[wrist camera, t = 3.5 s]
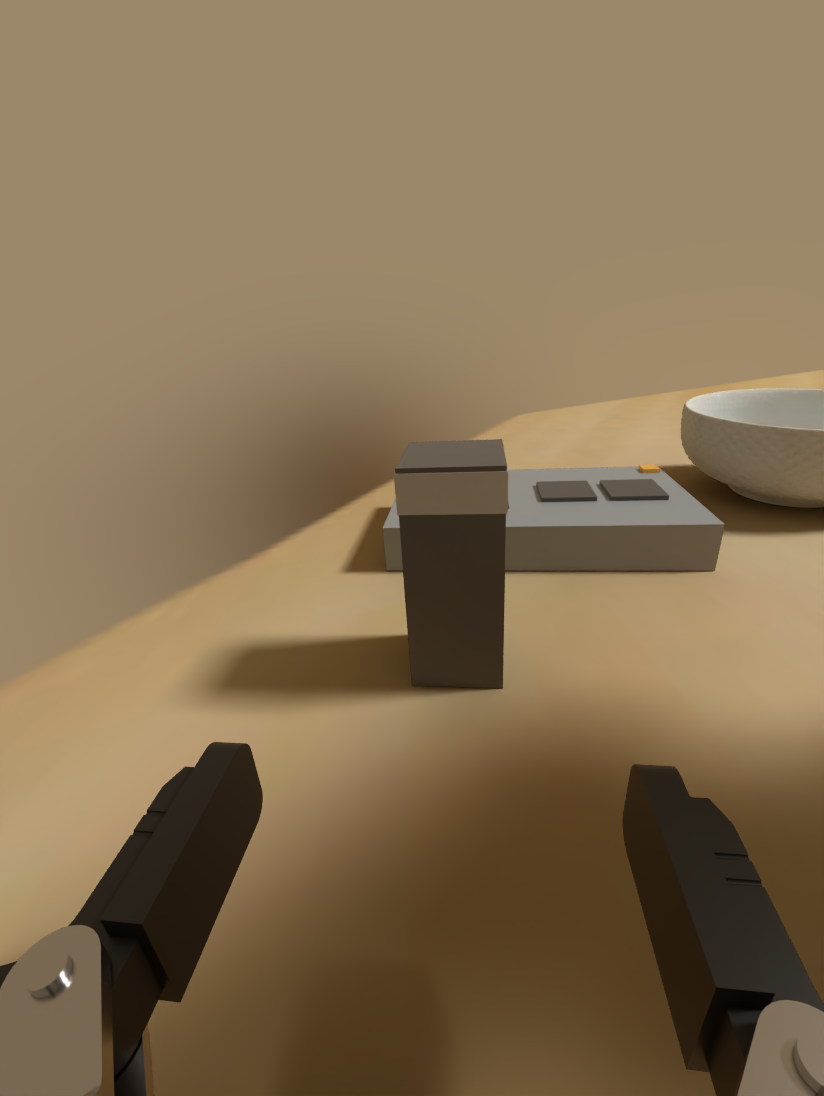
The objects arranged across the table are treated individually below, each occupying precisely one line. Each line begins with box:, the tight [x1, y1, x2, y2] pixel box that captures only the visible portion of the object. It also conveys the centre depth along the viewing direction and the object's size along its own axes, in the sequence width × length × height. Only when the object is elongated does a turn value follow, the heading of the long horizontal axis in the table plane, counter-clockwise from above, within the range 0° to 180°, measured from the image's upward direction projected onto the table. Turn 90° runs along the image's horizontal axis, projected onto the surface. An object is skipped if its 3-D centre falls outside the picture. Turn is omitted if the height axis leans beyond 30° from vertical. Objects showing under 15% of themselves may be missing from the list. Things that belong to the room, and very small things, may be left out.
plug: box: [394, 439, 508, 688], centre depth 22 cm, size 4×4×10 cm
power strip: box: [383, 465, 725, 571], centre depth 36 cm, size 20×12×3 cm, turn 83°
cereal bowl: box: [681, 388, 824, 508], centre depth 40 cm, size 17×17×7 cm
